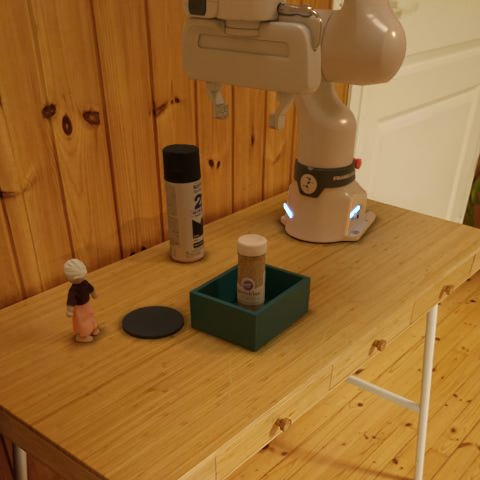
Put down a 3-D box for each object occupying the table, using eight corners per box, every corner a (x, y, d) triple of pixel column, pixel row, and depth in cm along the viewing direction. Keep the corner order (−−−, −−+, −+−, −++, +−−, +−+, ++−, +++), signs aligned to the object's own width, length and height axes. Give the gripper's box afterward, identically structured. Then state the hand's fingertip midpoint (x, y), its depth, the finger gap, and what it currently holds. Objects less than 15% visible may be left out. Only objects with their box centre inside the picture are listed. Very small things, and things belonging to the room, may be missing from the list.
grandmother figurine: (83, 323, 99) (69, 248, 91) (106, 326, 98) (94, 250, 90) (65, 348, 93) (49, 270, 85) (89, 351, 92) (75, 273, 84)
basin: (247, 291, 108) (247, 258, 104) (308, 311, 102) (311, 277, 98) (190, 326, 98) (189, 291, 94) (255, 351, 92) (255, 315, 88)
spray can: (199, 264, 116) (194, 154, 104) (165, 261, 117) (156, 152, 105) (207, 251, 121) (204, 144, 109) (175, 248, 122) (168, 141, 110)
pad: (151, 302, 104) (151, 300, 104) (196, 319, 100) (196, 317, 99) (109, 326, 98) (108, 323, 98) (155, 345, 93) (155, 343, 93)
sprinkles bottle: (236, 324, 98) (236, 244, 90) (237, 311, 102) (237, 232, 93) (264, 325, 98) (267, 244, 90) (264, 311, 102) (267, 232, 93)
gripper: (336, 5, 73) (325, 130, 81) (203, -4, 82) (205, 109, 91) (309, 8, 69) (300, 139, 77) (172, -2, 78) (177, 117, 86)
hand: (248, 123), depth 84 cm, fingers open, 8 cm apart
